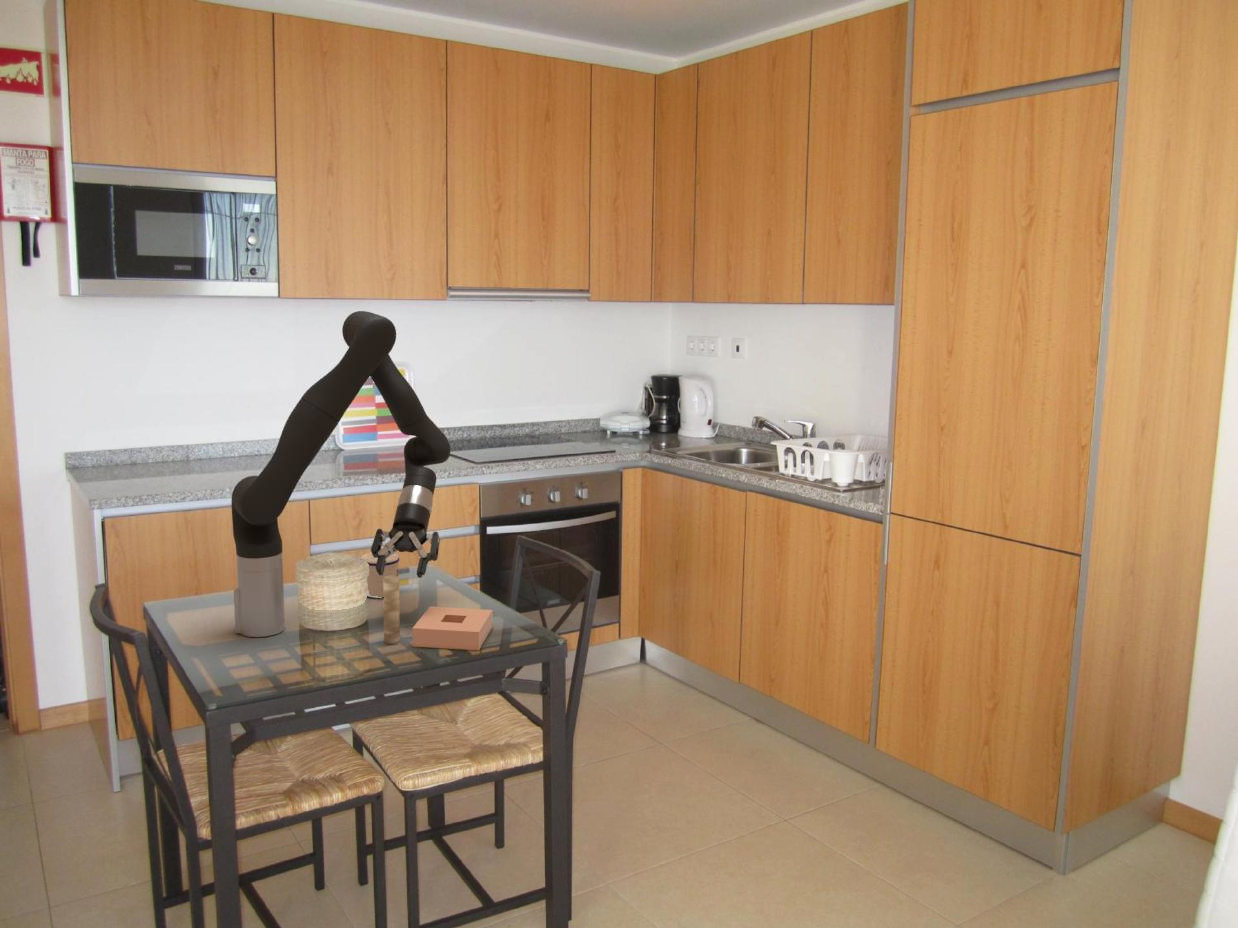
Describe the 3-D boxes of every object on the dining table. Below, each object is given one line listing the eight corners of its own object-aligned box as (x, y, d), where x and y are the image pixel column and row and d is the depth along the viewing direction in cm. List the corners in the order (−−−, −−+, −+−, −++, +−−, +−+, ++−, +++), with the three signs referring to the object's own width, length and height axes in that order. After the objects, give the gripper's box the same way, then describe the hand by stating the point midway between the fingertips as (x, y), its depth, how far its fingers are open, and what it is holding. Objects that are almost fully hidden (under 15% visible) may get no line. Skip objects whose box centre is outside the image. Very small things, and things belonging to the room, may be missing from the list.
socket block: (412, 646, 211) (412, 628, 211) (430, 623, 225) (430, 606, 224) (478, 650, 210) (478, 631, 210) (492, 627, 224) (492, 609, 223)
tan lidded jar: (404, 596, 243) (403, 549, 241) (366, 601, 239) (365, 553, 237) (390, 582, 253) (390, 537, 251) (353, 586, 249) (353, 540, 247)
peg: (382, 643, 212) (381, 579, 210) (386, 638, 215) (386, 575, 213) (397, 644, 212) (396, 580, 209) (401, 639, 215) (400, 575, 213)
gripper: (378, 499, 224) (362, 564, 215) (442, 502, 223) (429, 568, 214) (386, 517, 230) (371, 581, 221) (448, 520, 229) (435, 584, 220)
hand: (399, 574), depth 217 cm, fingers open, 8 cm apart
